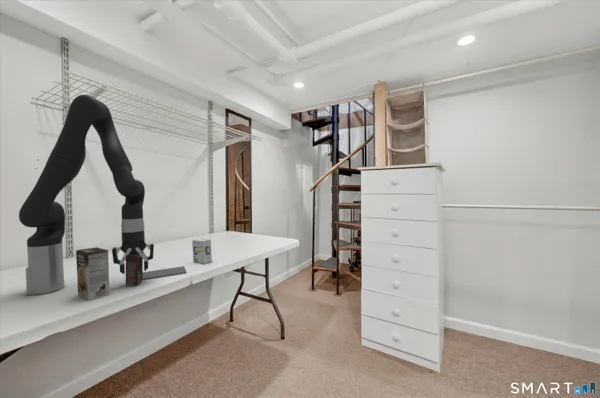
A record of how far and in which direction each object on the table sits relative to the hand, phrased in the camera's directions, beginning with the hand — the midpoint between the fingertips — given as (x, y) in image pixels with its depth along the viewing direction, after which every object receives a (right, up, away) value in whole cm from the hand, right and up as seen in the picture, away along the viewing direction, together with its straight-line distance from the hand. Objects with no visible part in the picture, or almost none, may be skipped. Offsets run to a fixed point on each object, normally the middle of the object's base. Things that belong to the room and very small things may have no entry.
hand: (134, 271), depth 100 cm
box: (0, -5, 0) cm, 5 cm away
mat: (+5, -4, +12) cm, 14 cm away
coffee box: (-8, -5, -10) cm, 14 cm away
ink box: (+15, -4, +30) cm, 34 cm away
